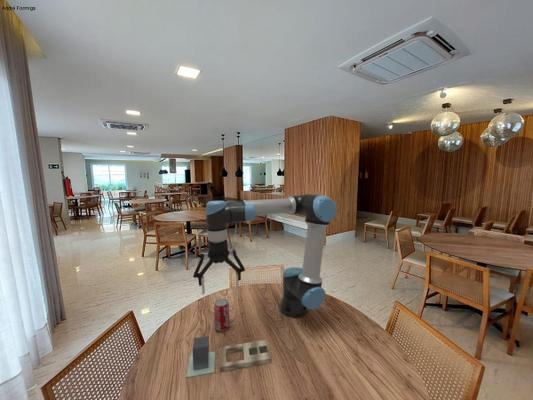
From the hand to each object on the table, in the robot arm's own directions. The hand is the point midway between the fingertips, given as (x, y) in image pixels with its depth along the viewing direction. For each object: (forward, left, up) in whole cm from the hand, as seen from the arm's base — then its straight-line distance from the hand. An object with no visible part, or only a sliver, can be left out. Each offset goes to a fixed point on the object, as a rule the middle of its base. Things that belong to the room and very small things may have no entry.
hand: (220, 290), depth 89 cm
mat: (+8, +5, -27) cm, 29 cm away
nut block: (+8, +5, -27) cm, 28 cm away
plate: (-9, +5, -27) cm, 29 cm away
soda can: (0, -15, -27) cm, 31 cm away
